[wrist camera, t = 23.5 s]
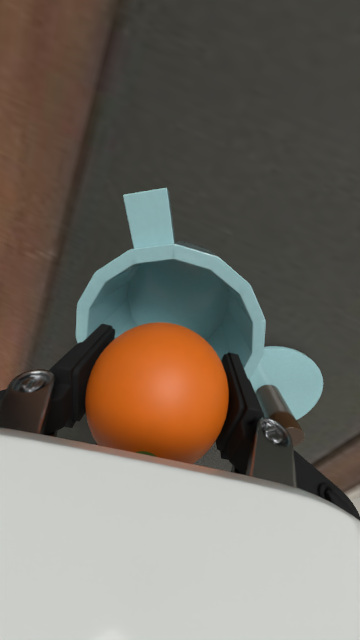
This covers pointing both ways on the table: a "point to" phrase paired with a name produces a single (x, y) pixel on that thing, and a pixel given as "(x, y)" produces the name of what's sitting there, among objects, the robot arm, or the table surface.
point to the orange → (158, 393)
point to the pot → (172, 287)
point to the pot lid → (287, 387)
